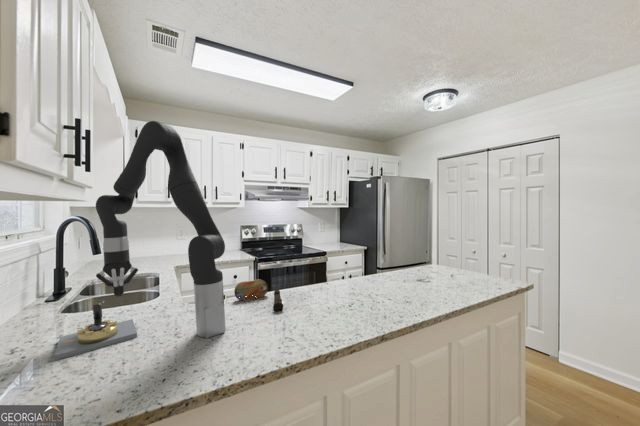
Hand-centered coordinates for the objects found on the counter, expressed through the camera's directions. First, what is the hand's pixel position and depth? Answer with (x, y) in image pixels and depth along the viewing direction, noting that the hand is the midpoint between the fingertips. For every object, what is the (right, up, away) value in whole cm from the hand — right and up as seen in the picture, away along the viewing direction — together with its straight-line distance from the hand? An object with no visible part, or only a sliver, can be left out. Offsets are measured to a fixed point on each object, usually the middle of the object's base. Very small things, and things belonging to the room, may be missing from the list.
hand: (119, 295), depth 100 cm
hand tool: (+56, -9, +16) cm, 59 cm away
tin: (+43, -9, +25) cm, 51 cm away
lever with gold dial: (0, -10, -9) cm, 13 cm away
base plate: (0, -12, -9) cm, 15 cm away
